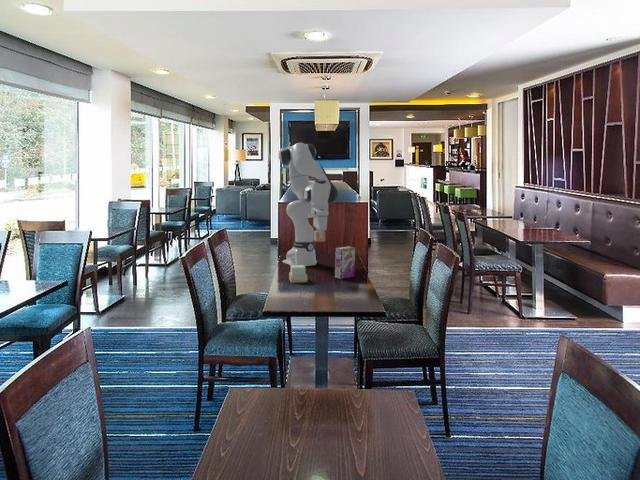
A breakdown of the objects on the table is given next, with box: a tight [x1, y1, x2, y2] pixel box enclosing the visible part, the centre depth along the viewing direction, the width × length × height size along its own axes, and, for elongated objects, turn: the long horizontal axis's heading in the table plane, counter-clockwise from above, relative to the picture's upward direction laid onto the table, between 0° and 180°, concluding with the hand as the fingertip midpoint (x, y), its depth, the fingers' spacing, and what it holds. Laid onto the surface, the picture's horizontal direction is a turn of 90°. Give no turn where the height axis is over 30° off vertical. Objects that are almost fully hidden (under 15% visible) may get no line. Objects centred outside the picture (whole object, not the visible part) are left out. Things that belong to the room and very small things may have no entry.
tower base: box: [288, 271, 308, 284], centre depth 295 cm, size 8×8×4 cm
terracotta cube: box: [314, 230, 326, 243], centre depth 295 cm, size 5×5×5 cm
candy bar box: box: [334, 246, 356, 280], centre depth 302 cm, size 11×5×16 cm, turn 135°
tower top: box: [290, 265, 306, 275], centre depth 295 cm, size 7×7×4 cm
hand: (319, 237), depth 295 cm, fingers closed on terracotta cube, 5 cm apart
